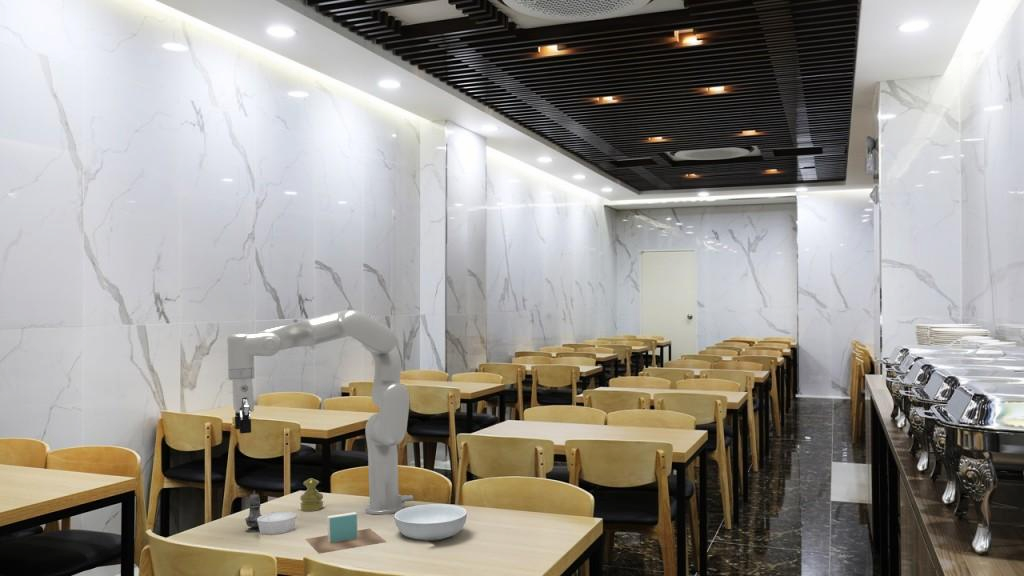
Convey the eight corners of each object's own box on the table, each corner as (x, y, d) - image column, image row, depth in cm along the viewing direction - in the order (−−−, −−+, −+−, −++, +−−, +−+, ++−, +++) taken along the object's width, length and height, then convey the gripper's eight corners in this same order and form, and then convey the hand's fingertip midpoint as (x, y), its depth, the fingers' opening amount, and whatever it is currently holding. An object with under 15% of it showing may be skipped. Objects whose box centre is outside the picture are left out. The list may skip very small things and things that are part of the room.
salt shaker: (259, 532, 244) (258, 492, 244) (241, 532, 245) (240, 492, 245) (268, 527, 250) (267, 488, 250) (251, 527, 251) (250, 488, 251)
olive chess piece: (305, 505, 275) (304, 476, 275) (326, 505, 274) (325, 476, 274) (296, 511, 268) (296, 481, 268) (318, 511, 267) (317, 481, 267)
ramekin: (250, 535, 242) (249, 517, 242) (283, 526, 250) (283, 509, 250) (270, 541, 235) (269, 523, 235) (303, 532, 243) (303, 515, 243)
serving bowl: (410, 552, 220) (409, 526, 220) (385, 534, 238) (384, 510, 238) (479, 539, 229) (478, 515, 230) (450, 522, 248) (449, 500, 248)
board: (369, 532, 240) (369, 528, 240) (387, 546, 226) (386, 541, 226) (305, 543, 231) (305, 538, 231) (318, 558, 217) (318, 553, 217)
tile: (355, 536, 232) (355, 512, 232) (357, 538, 230) (357, 513, 230) (327, 541, 228) (327, 516, 228) (329, 543, 226) (329, 517, 226)
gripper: (258, 375, 240) (260, 433, 239) (249, 371, 255) (251, 426, 255) (232, 377, 236) (234, 436, 236) (224, 373, 252) (226, 428, 252)
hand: (243, 430), depth 245 cm, fingers open, 9 cm apart
